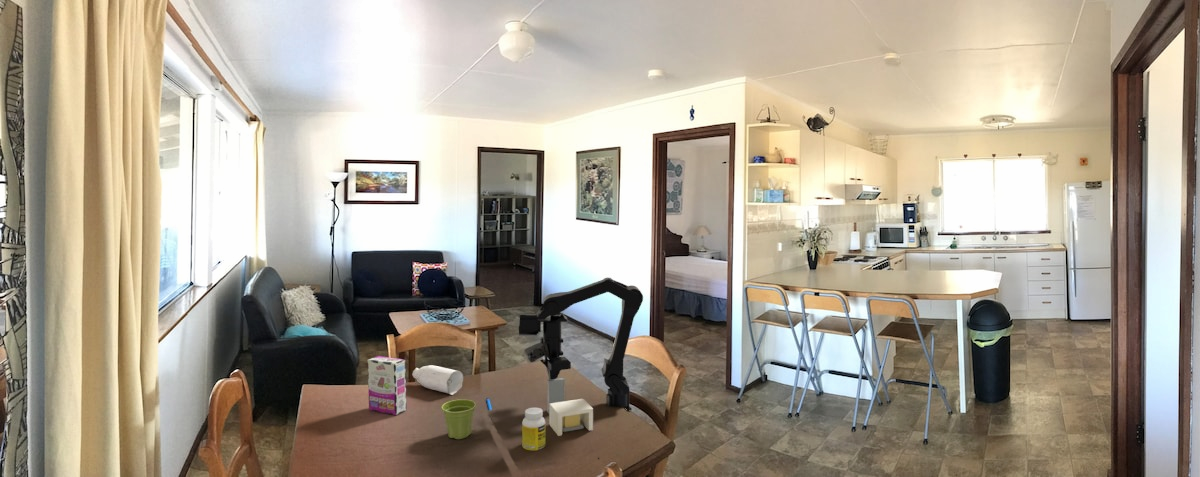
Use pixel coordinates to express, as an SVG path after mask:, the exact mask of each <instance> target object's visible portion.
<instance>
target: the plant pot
mask: <svg viewBox="0 0 1200 477" xmlns="http://www.w3.org/2000/svg"><path fill="white" fill-rule="evenodd" d="M476 406H477V404H476V402H475V401H474V400H473V399H472V400H471V399H454V400H450V401H447V402H444V403H443V404H442V405H441V409H442V412H443V414H444V416H445V418H444V419H445V423H446V428H447V435H448V438H450V439H456V440H462V439H466V438H468V437H469V435H471V434H472V424H473V417H474V412H475V408H476Z"/></svg>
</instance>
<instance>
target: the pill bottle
mask: <svg viewBox="0 0 1200 477" xmlns="http://www.w3.org/2000/svg"><path fill="white" fill-rule="evenodd" d="M543 415H544V413H543V409H542V408H540V407H529V408H526V409H525V410H524V418H523V420H522V421H521V426H522V427H521V435H522V436H521V437H522V438H521V439H522V440H521V446H522V448H523V449H524V450H526V451H531V452H533V451H539V450H543V449H544V448H545V447H546V419H545V418H544V417H543Z"/></svg>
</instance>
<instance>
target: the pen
mask: <svg viewBox="0 0 1200 477" xmlns="http://www.w3.org/2000/svg"><path fill="white" fill-rule="evenodd" d="M486 402H487V403H486V404H487V407H488V410H489V411H492V405H491V400H490V399H489V398H488V397H487V398H486ZM490 420H491V421H493V420H492V418H490Z"/></svg>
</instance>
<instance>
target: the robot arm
mask: <svg viewBox="0 0 1200 477" xmlns="http://www.w3.org/2000/svg"><path fill="white" fill-rule="evenodd" d="M605 293H606V294H607V293H609V294H612V295H613V296H615V297H617V298H618V299H621V315H620V319H619V322H618V323H619V324H618V326H617V329H616V330H617V331H616V333H615V334H616V335H615V339H614V343H613V347H612V351H611V355H610V356H609V358H604V359H603V365H602V367H601V374H602V378H603V381H604V384H605V385H606V386H607V387H608V388H607V393H606V397H605V398H606V401H605V404H606V406H608V407H609V408H623V409H624V410H625V411H626V412H627V410H629V411H631V410H632V407H631V406H630V397H631V396H630V385H629V382H628V379H627V378H626V377H625V376H624V358H625V354H626V350H627V347H628V342H629V338H630V335H631V331H632V327H633V324H634V323H633V322H634V318H635V317H636V315H637V313H638V311H639V310H640V308H641V306H642V304H643V302H644V301H643V300H644V296H643V293H642V291H641V289H639V288H638V287H637V286H635V285H626V284H624V283H622V282H620V281H617V280H614V279H613V278H612V277H604V278H603V279H601V280H598V281H596V282H592V283H590V284H587V285H586V284H585V285H583V286H581V287H579V288H575V289H573V290H570V291H559V292H554V293H549V294H547V295H546V296H545V297H544V299H543V301H542V306H541V307H540V309H538V311H537V313H525V312H524V313H523V312H522V313H520V314H519V322H518V323H519V325H518V336H521V337H522V336H525V337H526V336H531V337H532V336H538V334H540V333H541V332H542V336H541V337H540V340H539V342H538V343H535V344H532V345H531V346H528V347H526V348H525V349H524V353H525V356H526V358H527V360H528V361H529V362H530V363H534V362H536V360H539V359H540V362H541V363H542V364H543V365H544V366H545V369H546V372H547V376H548V380H549V379H557V378H559V377H558V376H559V375H560V373H561V371H565V370H570V369H572V362H571V360H569V359H568V358H567V357H565V356H564V351H563V350H562V344H563V343H564V338H563V337H562V323H563V322H564V323H565V322H568V317H567V316H566V315H564V311H566V310H567V309H568V308H570V307H571V306H573V305H575V304H577V303H580V302H583V301H586V300H588V299H591V298H595V297H597V296H601V295H603V294H605ZM541 358H542V359H541ZM625 408H626V409H627V410H626V409H625Z"/></svg>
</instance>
